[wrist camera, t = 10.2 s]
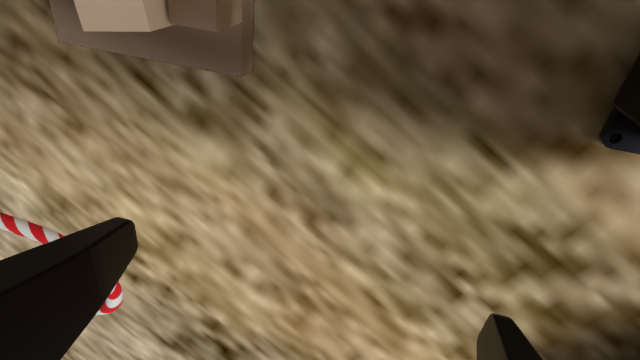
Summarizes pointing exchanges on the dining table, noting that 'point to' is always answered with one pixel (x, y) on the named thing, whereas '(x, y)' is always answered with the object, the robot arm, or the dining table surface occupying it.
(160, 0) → the clay strip
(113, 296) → the candy cane
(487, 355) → the robot arm
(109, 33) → the tabbed beige plate
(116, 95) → the dining table surface
